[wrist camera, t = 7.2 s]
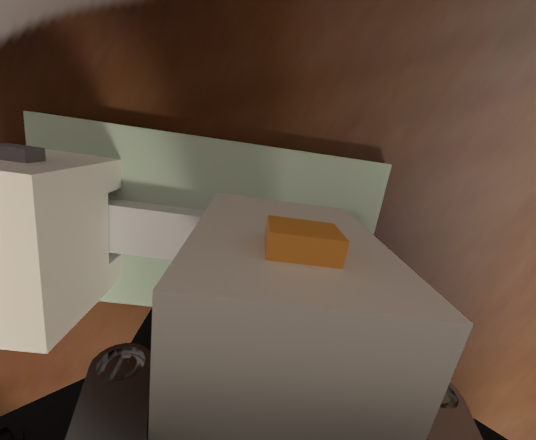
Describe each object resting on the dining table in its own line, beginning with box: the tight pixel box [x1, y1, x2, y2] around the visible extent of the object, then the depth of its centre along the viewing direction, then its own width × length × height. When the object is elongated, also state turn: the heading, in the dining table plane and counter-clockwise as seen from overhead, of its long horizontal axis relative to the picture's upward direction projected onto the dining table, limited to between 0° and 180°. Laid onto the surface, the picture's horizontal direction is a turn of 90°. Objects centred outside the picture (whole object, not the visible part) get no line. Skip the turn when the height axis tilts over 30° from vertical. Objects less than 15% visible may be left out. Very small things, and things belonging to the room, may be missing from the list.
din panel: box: [0, 111, 392, 354], centre depth 16 cm, size 22×12×8 cm, turn 82°
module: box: [148, 193, 474, 440], centre depth 9 cm, size 5×9×7 cm, turn 172°
